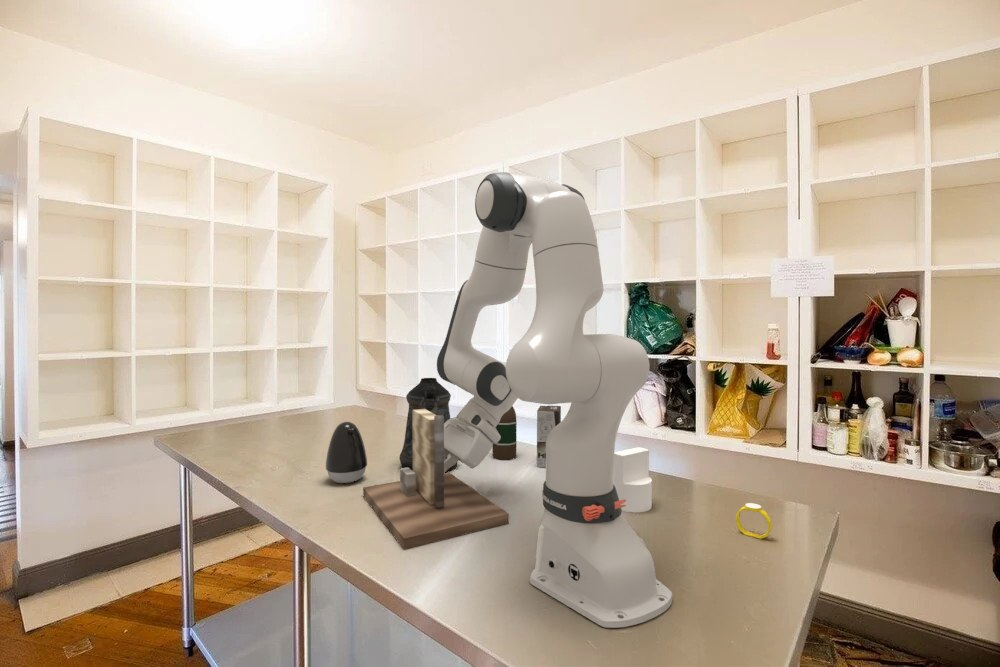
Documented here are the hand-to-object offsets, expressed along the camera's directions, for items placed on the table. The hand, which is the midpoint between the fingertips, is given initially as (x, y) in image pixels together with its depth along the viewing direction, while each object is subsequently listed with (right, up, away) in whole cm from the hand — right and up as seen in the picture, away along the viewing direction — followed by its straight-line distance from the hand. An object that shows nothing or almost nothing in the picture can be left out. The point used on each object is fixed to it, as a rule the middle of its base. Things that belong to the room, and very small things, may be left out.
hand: (437, 470), depth 107 cm
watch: (+63, -8, -16) cm, 65 cm away
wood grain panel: (-1, -5, -2) cm, 6 cm away
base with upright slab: (+44, -8, -1) cm, 44 cm away
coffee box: (+29, -7, +30) cm, 42 cm away
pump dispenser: (-25, -7, +15) cm, 30 cm away
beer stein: (-5, -7, +26) cm, 27 cm away
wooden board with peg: (-1, -7, -3) cm, 8 cm away
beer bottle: (+16, -7, +36) cm, 40 cm away
